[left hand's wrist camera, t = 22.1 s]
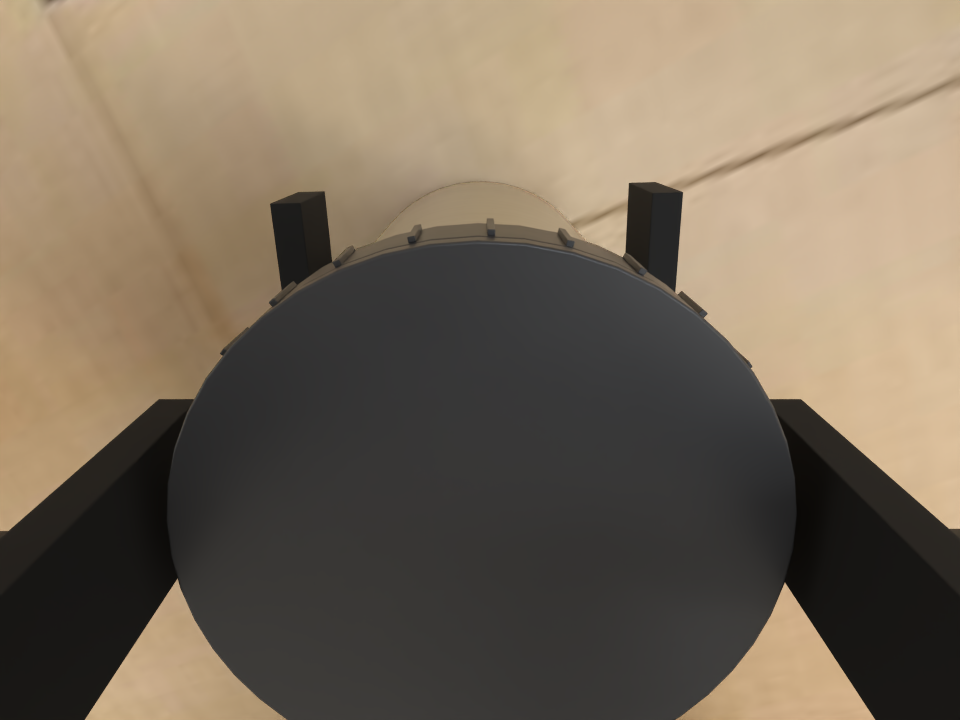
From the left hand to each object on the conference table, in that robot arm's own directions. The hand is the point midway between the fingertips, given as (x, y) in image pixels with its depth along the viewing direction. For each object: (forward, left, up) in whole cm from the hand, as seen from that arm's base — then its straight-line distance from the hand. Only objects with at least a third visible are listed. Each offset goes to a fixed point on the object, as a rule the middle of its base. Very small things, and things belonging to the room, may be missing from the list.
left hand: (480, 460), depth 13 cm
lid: (0, 0, +3) cm, 3 cm away
